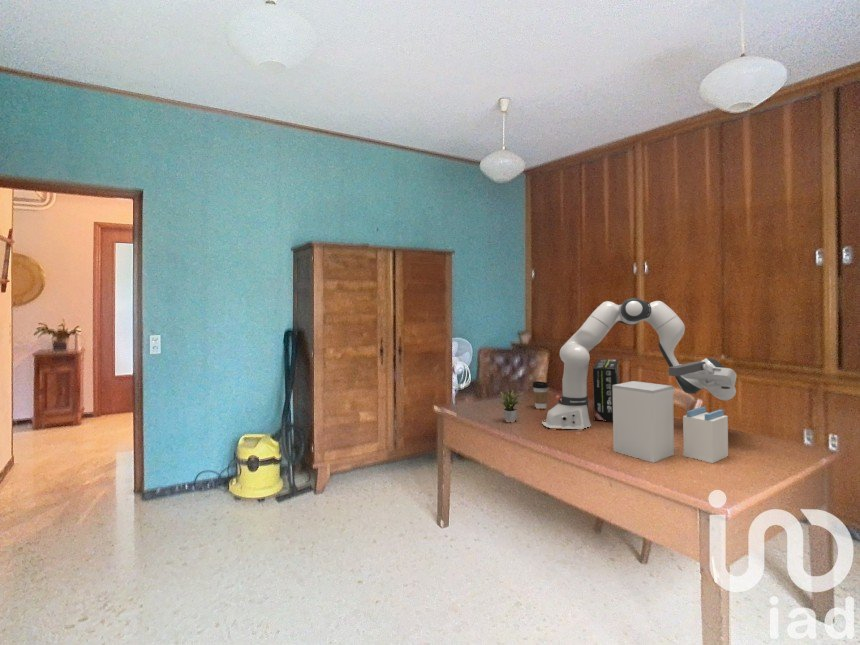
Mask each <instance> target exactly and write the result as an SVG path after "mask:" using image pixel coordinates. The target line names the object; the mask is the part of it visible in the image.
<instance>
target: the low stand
mask: <svg viewBox="0 0 860 645" xmlns="http://www.w3.org/2000/svg"><path fill="white" fill-rule="evenodd" d="M728 417H729V416H728V415H725V410H724V409H717V410H713V411H711V412H707V407H706V406H700V407H697V408H693V409H691V410H687V411H686V414H685V415H683V416H682V424H683V425H682V426H683V428H682V431H683V432H682V434H683V437H682V438H683V439H682V440H683V457H685V458H690V459H693V458H694V460H697V459H698V460H697V461H701V460H702V462H706V463H710V464H714V463H716V462H719V461H721V460H723V459H726V458H727V456H728V457H729V420H728V419H729V418H728Z"/></svg>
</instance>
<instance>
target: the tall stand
mask: <svg viewBox="0 0 860 645" xmlns="http://www.w3.org/2000/svg"><path fill="white" fill-rule="evenodd" d="M612 387H613V422H612V424H613V425H612V431H613V432H612V434H613V437H612V438H613V445H612V446H613V453H616V452H618V454H620V453H621V455H624V454H625V456H627V455H628V457H631V456H632V457H631V458H635V459H638V458H639V459H638V460H642V461H646V462H650V463H657V462H659V461H662V460H664V459H667V458H669V457H671V456H674V455H675V443H674V442H675V436H674V435H675V430H674V428H675V427H674V424H675V423H674V385H667V384H660V383H659V384H658V383H652V382H643V381H638V380H637V381H635V380H632V381H631V380H630V381H626V382H622V383H619V384H616V385H612Z"/></svg>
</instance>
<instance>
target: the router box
mask: <svg viewBox="0 0 860 645" xmlns="http://www.w3.org/2000/svg"><path fill="white" fill-rule="evenodd" d="M619 368H620V366H619V359H609V358H608V359H607V358H604V359H603V358H599V359H597V361H596V362H595V364H594V365H593V366H592V383H593V386H592V387H593V411H594V412H593V414H594V417H593V419H595V420H604V421H605V420H606V421H613V387H612V385H616V384H620V373H619ZM604 421H603V422H604Z"/></svg>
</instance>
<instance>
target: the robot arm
mask: <svg viewBox="0 0 860 645" xmlns="http://www.w3.org/2000/svg"><path fill="white" fill-rule="evenodd" d="M641 322H646V323H648V324H649V325H651V326H652V328H653V330H654V331H655V332H656V333H657V335H658V339H659V342H658V349H659V351H660V352H661V354H662V356H663V357H664V359H665V361H666V363H667V366H669V367H673V366H678V365H682V364H680V363H679V361H678V359H677V358H676V356H675V349H676V346H677V345H678V343H679V342H680V341H681V339H682V338H683V337H684V334H685V330H686V326H685V324H684V322H683V321H682V319H681V318H680V317H679V315H678V314H676V312H675V311H674V310H673V309H672V308H671V307H669V306H668V305H667V304H666V303H665V302H664V301H661V300H655V301H652V302H650V303H649V302H647V301H645V300H642V299H639V298H637V297H632V298H631V297H630V298H628V299H626V300H624V301H623V302H622V303H621V304H617V303H615V302H613V301H609V300H607V301H603V302H602V303H600V305H598V306H597V307H596V309H594V311H592V313H591V314H590V315H589V317H587V318H586V320H585V321H584V322H583V324H582V325H581V326H580V327H579V329H578V330H577V331H576V332H575V333H573V335H572V336H571V337H570V338H569V339H568V340H566V342H564V344H563V345H562V346H561V348H560V349H559V358H560V360H561V361H562V362H563V364H564V365H563V375H562V379H561V380H562V386H561V388H562V395H558V394H557V395H556V396H555V398H556V400H557V401H558V403H557V404H556V405H555V406H553V407H552V408H550V409H549V410H548V411H547V414H546V419H543V420H544V421H545V420H546V422H543V420H542V421H541V425H542V424H543V425H544V426H546V427H549V428H562V429H584V428H586V429H588V428H587V427H589V428H591V427H592V424H591V420H590V416H589V410H588V408H589V397H588V386H587V385H588V384H587V383H588V372H589V363H590V358H591V357H590V356H591V355H590V353H589V352H590V351H592V350H593V349H594V347H596V346H597V345H598V344H600V343H601V342H602V340H603V339H604V338H605V337H606V335H607V334H608V333H609V332H610V331H611V329H612V328H613V326H614V325H615V324H616V323H621V324H624V325H627V326H635V325H638V324H639V323H641ZM700 361H701V362H706V364H701V368H702V369H703V370H701V371H697V372H693V373H689V374H685V375H680V376H674V377H675V379H676V382H677V384H678V386H679V388H680V390H682V391H683V392H684V393H685V394H691V395H694V394H697V393H699V392H700V391H702V389H705V390H707V392H709V393H710V394H711V395H712V396H713V397H715V398H717V399H719V400H721V401H729V400H731V399H733V398H734V397H735V396H736V393H737V389H736V387H735V385H736V383H737V377H738V376H737V373H736V371H735V370H734V369H732V368H729V367H724V366H723V365H722V363H720V362H719V361H718V360H717V359H715V358H712V357H705V358H704V359H702V360H700ZM669 367H668V368H669ZM543 425H542V426H543ZM590 426H591V427H590ZM584 430H585V429H584Z"/></svg>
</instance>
